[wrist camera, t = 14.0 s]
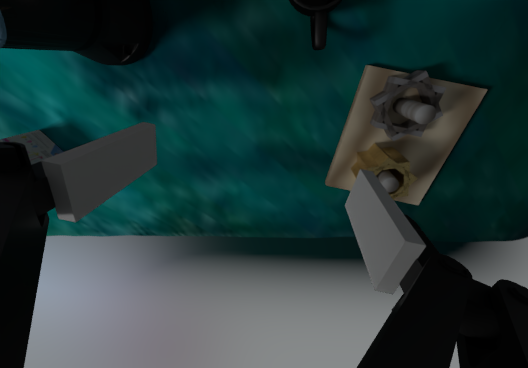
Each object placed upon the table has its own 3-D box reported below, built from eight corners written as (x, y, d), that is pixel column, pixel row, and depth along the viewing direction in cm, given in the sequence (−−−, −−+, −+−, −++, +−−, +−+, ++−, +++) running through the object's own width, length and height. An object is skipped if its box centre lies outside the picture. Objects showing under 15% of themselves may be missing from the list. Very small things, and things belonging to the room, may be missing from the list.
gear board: (325, 181, 46) (331, 207, 38) (367, 61, 36) (389, 59, 27) (414, 201, 46) (441, 232, 37) (483, 84, 35) (541, 90, 27)
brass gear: (351, 187, 44) (361, 207, 38) (349, 147, 41) (358, 161, 34) (398, 181, 42) (416, 201, 36) (400, 138, 39) (419, 152, 33)
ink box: (74, 159, 51) (7, 188, 39) (57, 179, 54) (-10, 211, 42) (38, 128, 48) (-45, 148, 37) (23, 150, 51) (-58, 176, 40)
